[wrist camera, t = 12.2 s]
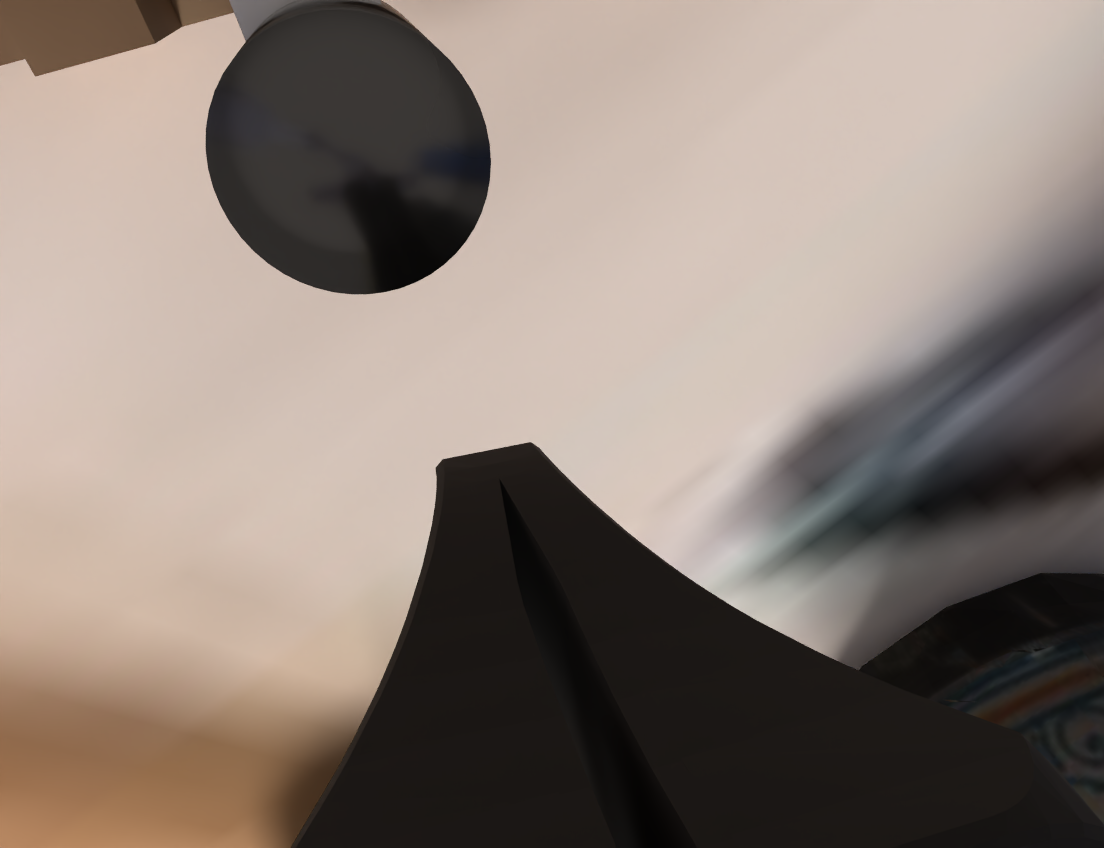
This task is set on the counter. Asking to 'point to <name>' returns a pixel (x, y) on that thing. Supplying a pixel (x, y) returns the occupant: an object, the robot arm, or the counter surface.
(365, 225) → the lock pin
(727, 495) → the counter surface
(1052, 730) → the beer stein
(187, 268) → the counter surface
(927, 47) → the counter surface
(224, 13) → the mount
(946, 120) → the counter surface
